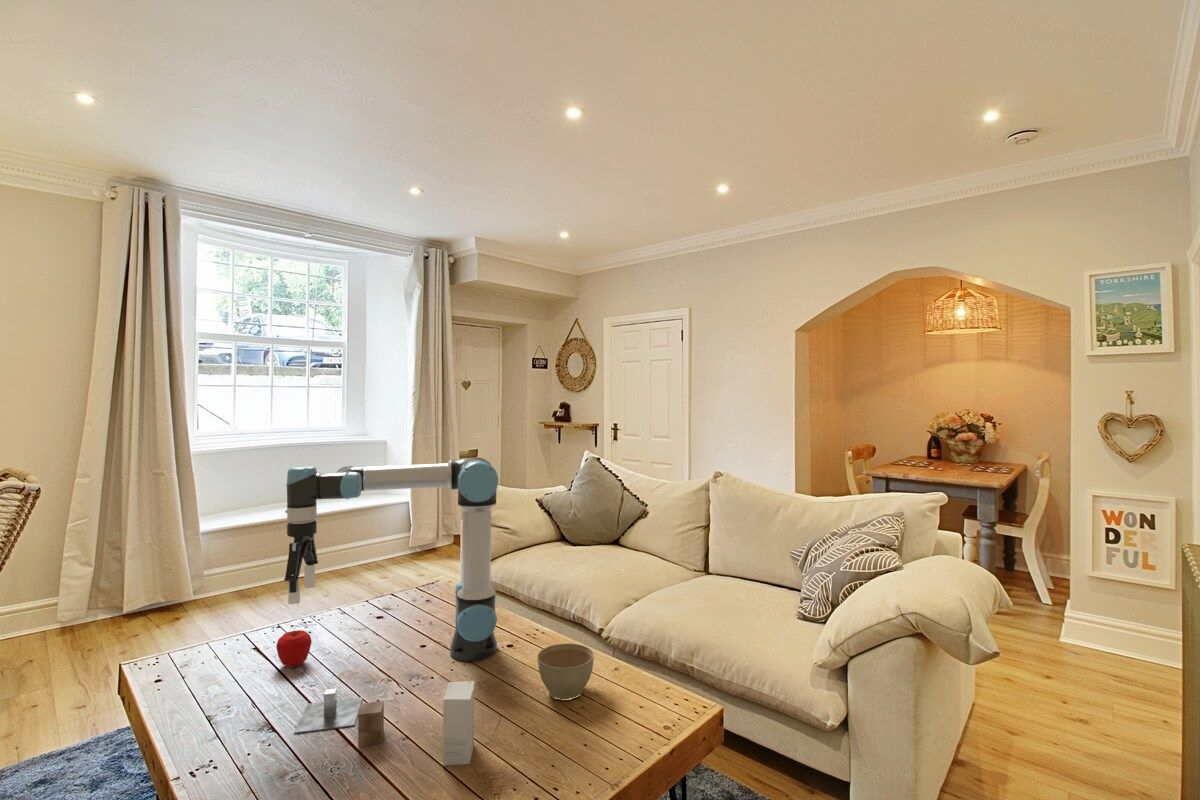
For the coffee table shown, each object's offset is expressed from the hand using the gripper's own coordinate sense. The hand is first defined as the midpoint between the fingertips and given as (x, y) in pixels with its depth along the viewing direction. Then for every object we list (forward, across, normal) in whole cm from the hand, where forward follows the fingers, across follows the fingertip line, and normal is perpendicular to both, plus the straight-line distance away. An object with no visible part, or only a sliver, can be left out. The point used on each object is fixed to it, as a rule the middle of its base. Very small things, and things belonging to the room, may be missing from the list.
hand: (302, 595), depth 165 cm
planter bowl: (+28, +15, +74) cm, 80 cm away
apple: (+28, -18, -8) cm, 34 cm away
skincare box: (+28, +39, +46) cm, 66 cm away
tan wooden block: (+28, +28, +24) cm, 46 cm away
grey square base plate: (+28, +15, +11) cm, 33 cm away
